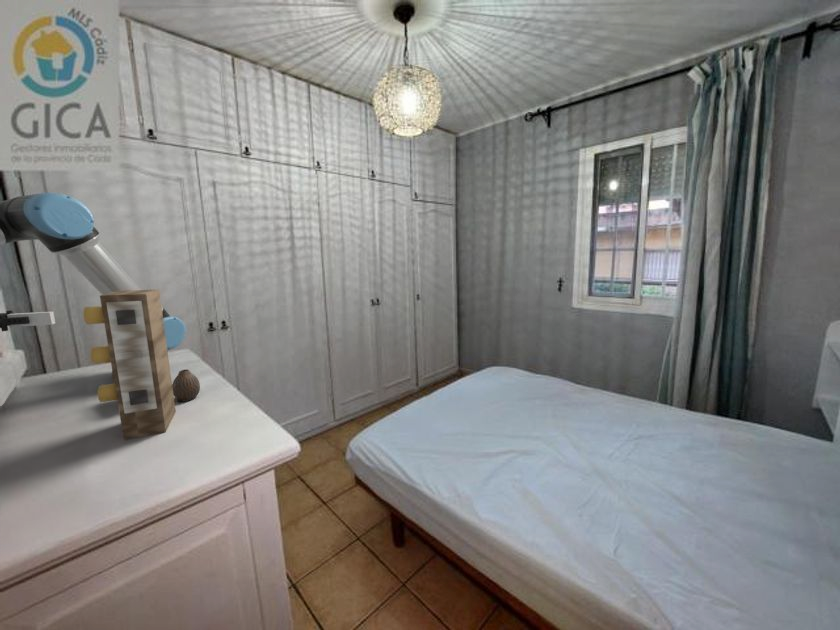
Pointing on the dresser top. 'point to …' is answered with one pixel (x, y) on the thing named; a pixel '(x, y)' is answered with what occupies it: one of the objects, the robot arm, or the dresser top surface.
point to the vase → (185, 386)
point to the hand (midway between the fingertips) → (52, 318)
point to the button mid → (100, 355)
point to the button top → (93, 315)
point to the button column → (139, 361)
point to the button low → (107, 393)
